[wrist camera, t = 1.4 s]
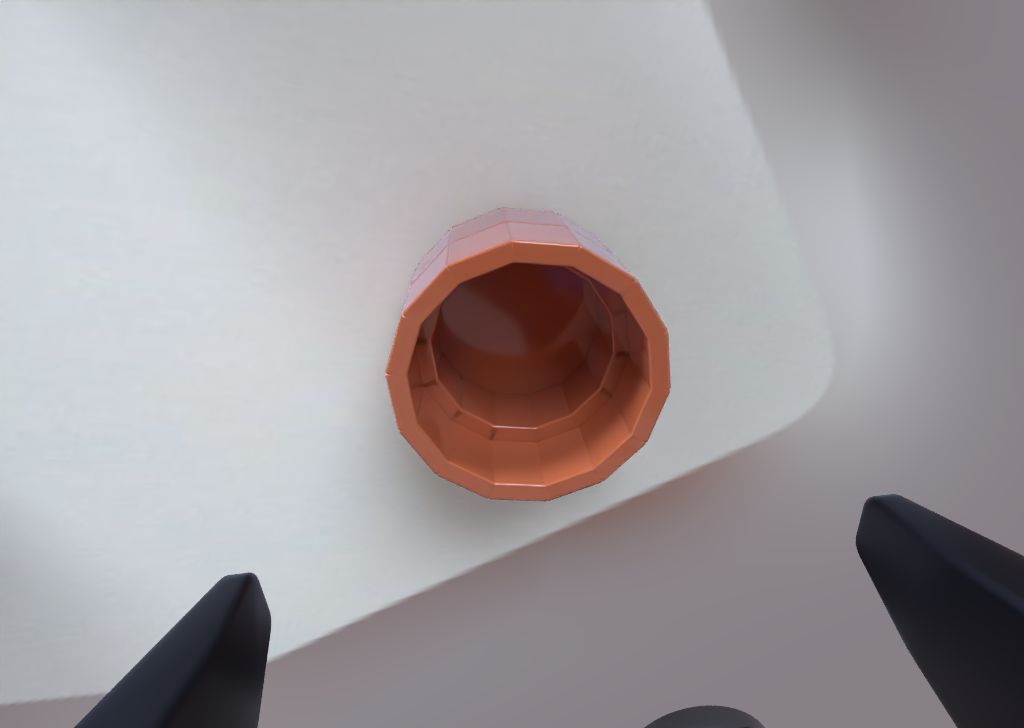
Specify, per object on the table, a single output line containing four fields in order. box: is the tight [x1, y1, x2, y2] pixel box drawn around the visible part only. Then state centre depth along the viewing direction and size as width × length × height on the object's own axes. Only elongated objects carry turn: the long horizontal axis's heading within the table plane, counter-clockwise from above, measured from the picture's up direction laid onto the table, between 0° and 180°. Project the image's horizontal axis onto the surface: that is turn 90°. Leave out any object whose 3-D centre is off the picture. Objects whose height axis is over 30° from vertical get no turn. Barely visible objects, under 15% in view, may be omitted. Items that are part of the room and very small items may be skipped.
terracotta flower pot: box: [386, 208, 671, 501], centre depth 17 cm, size 7×7×5 cm
